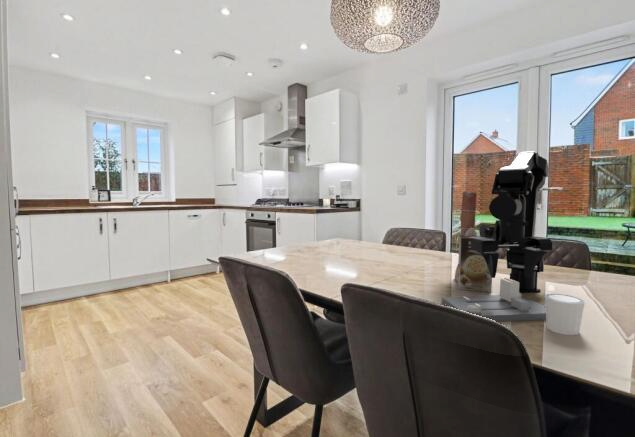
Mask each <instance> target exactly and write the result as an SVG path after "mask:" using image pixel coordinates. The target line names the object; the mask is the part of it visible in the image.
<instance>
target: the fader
mask: <svg viewBox="0 0 635 437" xmlns="http://www.w3.org/2000/svg"><path fill="white" fill-rule="evenodd" d="M499 282H500V284H499V295H500V297H501V298H503V299H505V300H507V301H509V302H511V298H517V297H519V293H520V292H519V282H517V281H514V280H512V279H510V277H509V278H508V277H504V278H500V281H499Z"/></svg>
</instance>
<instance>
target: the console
mask: <svg viewBox="0 0 635 437" xmlns="http://www.w3.org/2000/svg"><path fill="white" fill-rule="evenodd" d="M441 304H443V306H446V305H447V306H450V307H453V308H456V309H459V310H463V311H466V312H469V313H472V314H476V315H479V316H482V317H486V318H489V319H492V320H495V321H497V322H519V321H521V322H522V321H523V322H524V321H541V320H542V321H543V320H545V321H546V307H545V304H544V305H543V304H541V303H539V302H537V301H534V300H533V299H530V298H528V297H526V296H524V295H522V292H519V297H517V298H511V302H509V301H507V300H505V299H503V298H501V297H500V294H496V295H494V294H493V295H469V296H468V295H467V296H465V295H464V296H441ZM445 304H446V305H445ZM447 306H446V307H447ZM497 322H496V323H497Z"/></svg>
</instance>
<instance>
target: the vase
mask: <svg viewBox="0 0 635 437" xmlns="http://www.w3.org/2000/svg"><path fill="white" fill-rule="evenodd" d="M476 208H477V192H473V191H463V192H462V199H461V209H460V210H461V211H460V215H459V221H460V235H464V236H478V235H477V232H476V210H477V209H476ZM454 279H455V281H456V282H458V264H457V266H456V269H455V273H454Z"/></svg>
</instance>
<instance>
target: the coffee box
mask: <svg viewBox="0 0 635 437" xmlns="http://www.w3.org/2000/svg"><path fill="white" fill-rule="evenodd" d="M458 238H459V240H458V242H459V243H458V260H457V262H458V264H457V265H458V281H457V287H458V289H459V290H463V291H464V290H465V291H475V290H478V291H477V292H486V291H489V292H488V293H492V286H493V285H492V284H493V278H492V277H491V275H490V272H489V270H488V267H487V264H486V262H485V259H484V257H483V256H482V255H481V253H479V252H476V250H474V249H471V242H472V240H473V239H474V238H486V237H481V236H480V235H479V236H478V235H477V236H464V235H461V234H460V235H459V237H458Z"/></svg>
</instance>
